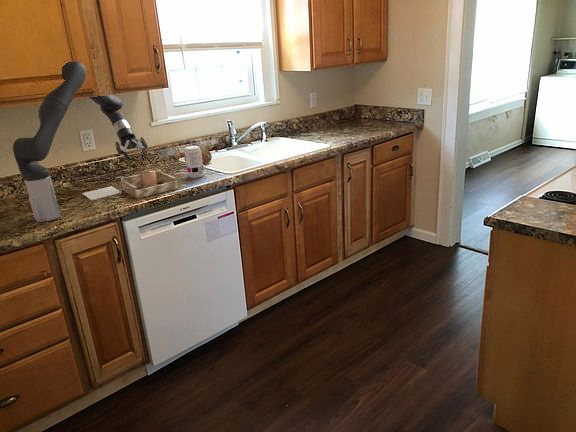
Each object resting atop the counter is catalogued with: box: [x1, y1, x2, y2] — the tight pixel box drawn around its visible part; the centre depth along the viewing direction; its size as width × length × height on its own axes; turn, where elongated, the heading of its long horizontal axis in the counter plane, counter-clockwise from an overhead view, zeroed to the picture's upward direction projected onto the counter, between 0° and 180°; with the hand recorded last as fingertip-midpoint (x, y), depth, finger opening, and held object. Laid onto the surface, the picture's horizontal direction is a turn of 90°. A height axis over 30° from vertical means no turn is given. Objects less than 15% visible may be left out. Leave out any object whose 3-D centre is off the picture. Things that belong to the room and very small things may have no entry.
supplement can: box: [183, 145, 205, 179], centre depth 229 cm, size 8×8×15 cm
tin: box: [184, 148, 213, 165], centre depth 254 cm, size 15×3×8 cm, turn 106°
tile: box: [82, 186, 123, 202], centre depth 213 cm, size 14×14×1 cm
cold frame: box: [120, 169, 179, 200], centre depth 214 cm, size 20×18×6 cm
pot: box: [141, 169, 158, 189], centre depth 213 cm, size 6×6×9 cm
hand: (137, 157), depth 217 cm, fingers open, 8 cm apart
